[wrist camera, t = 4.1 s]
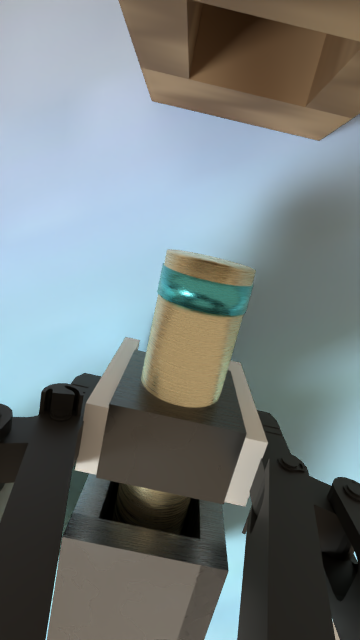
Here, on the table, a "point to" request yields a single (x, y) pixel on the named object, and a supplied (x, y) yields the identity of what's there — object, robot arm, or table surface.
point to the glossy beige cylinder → (179, 397)
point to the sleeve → (136, 573)
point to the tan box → (252, 59)
